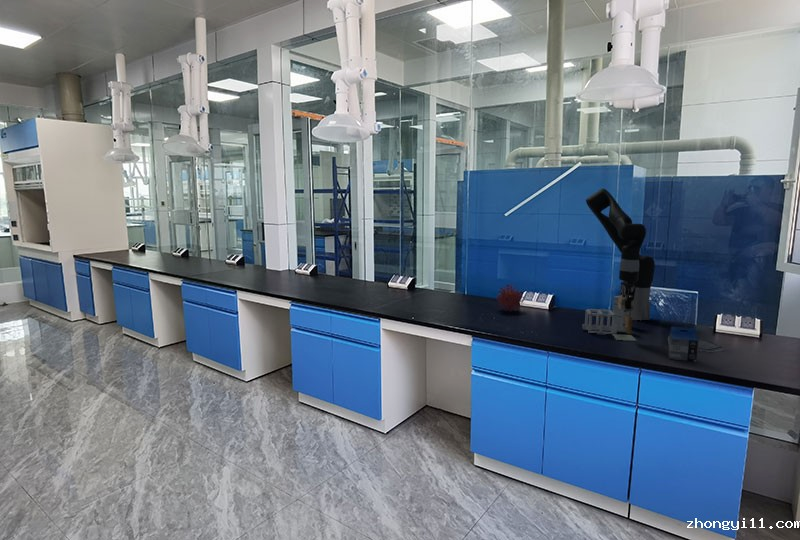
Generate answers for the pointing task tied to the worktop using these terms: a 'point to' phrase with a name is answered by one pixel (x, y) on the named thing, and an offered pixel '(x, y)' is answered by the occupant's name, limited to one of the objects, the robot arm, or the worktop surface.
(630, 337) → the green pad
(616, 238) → the robot arm
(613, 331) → the gray angular frame
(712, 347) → the security device
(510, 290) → the virus model
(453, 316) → the worktop surface
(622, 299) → the beech block
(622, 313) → the syrup box
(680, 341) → the label tape box
